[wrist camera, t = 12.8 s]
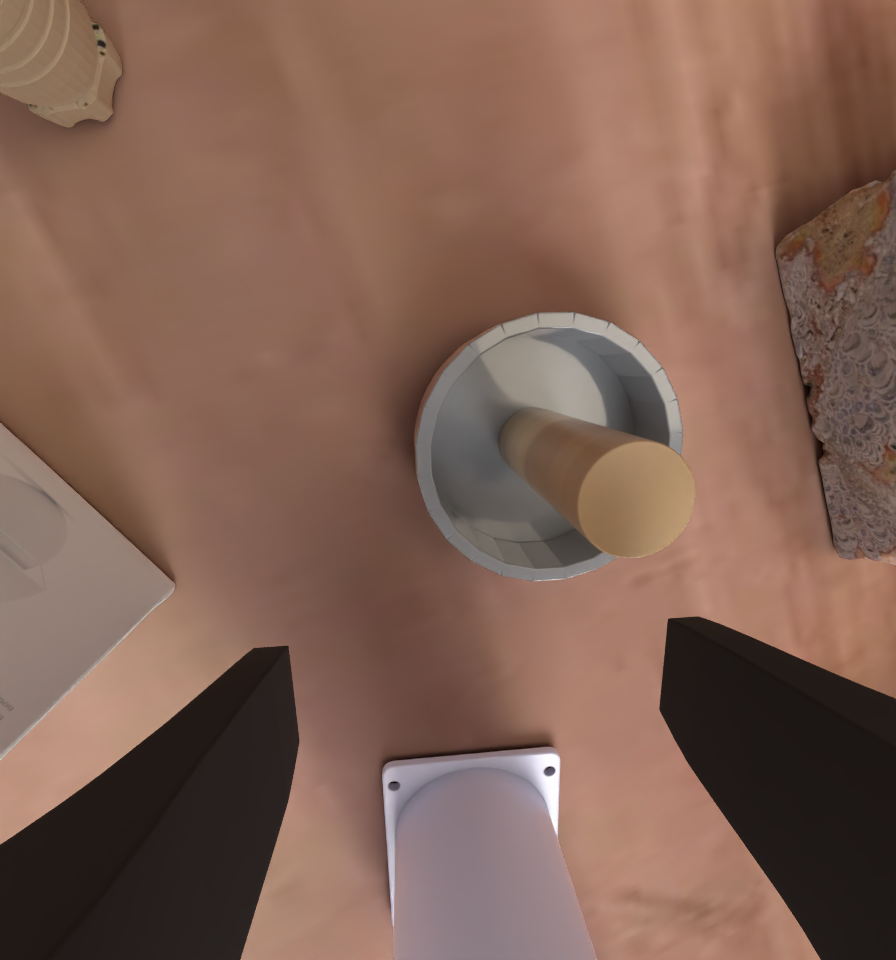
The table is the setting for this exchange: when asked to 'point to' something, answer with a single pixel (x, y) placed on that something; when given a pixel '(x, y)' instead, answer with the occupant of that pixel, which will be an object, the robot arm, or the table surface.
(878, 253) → the geological specimen
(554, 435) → the stick
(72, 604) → the cosmetics box
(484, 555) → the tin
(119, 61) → the handle
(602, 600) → the table surface
